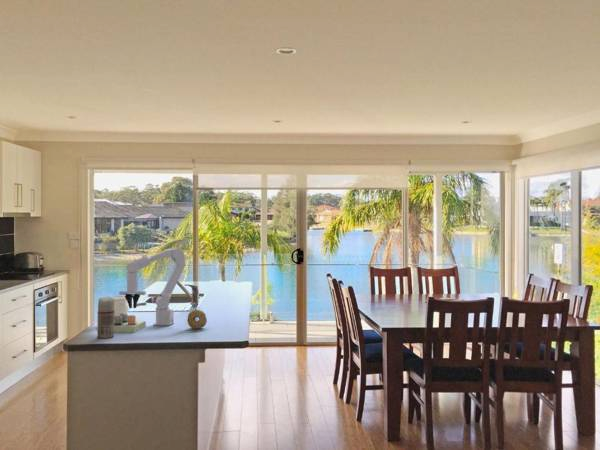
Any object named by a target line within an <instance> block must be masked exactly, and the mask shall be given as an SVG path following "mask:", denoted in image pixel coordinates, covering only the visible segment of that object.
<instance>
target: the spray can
mask: <svg viewBox="0 0 600 450" xmlns="http://www.w3.org/2000/svg"><path fill="white" fill-rule="evenodd" d="M111 297H112V296H105V297H99V299H98V303H97V329H96V330H97V335H96V336H97V338H99V339H110V338H113V337H114V333H115V332H114V299H113V298H111Z"/></svg>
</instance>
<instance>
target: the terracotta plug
mask: <svg viewBox="0 0 600 450" xmlns="http://www.w3.org/2000/svg"><path fill="white" fill-rule="evenodd" d="M136 317H137V316H136V314H131V315H130V314H129V315H128V325H135V324H136V321H137V320H136V319H137V318H136Z"/></svg>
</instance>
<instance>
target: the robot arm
mask: <svg viewBox="0 0 600 450" xmlns="http://www.w3.org/2000/svg"><path fill="white" fill-rule="evenodd" d="M185 257H186V255H185V253H184V250H182V249H181V248H179V247H172V248H168V249H165V250H163V251H160V252H158V253H156V254H153V255H151V256H148V255H142V256H141V257H140V258H138V259H136V258H135V259H133V261H129V262H127V264H126V265H125V269H126V270H127V271H126V272H127V273H126V290H120V291H119V292H118V295H119V296H125V298H126V300H127V303H128V309H132V308H133V309H136V308H137V305H138V302H139V299H140V297H141V296H146V295H147V291H146V290H145V291H144V290H139V281H138V280H139V276H138V270H142V269H145V268H147V267H149V266H151V265H152V263H154V262H157V261H159V260H162V259H164V258H170V259H172V260H173V263H174V264H175V266H174V268H173V270H172V272H171V274H170V276H169V277H168V280H167V283H166V284H165V286H164V288H163V290H162V291H161V292H160V294H159V295H158V296H157V297H156V298H155V304H156V307H155V323H153V326H171V325H172V324H174V323H175V322H174V319H175V318H174V317H175V316H174V315H175V314H174V313H175V312H174V309H173V308H170V307H169V306H170V300H171V298H172V293H173V291H174V290H175V287H176V286H177V284H178V281H179V279H180V277H181V275H182V274H183V271H184V269H185V268H186V259H185Z"/></svg>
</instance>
